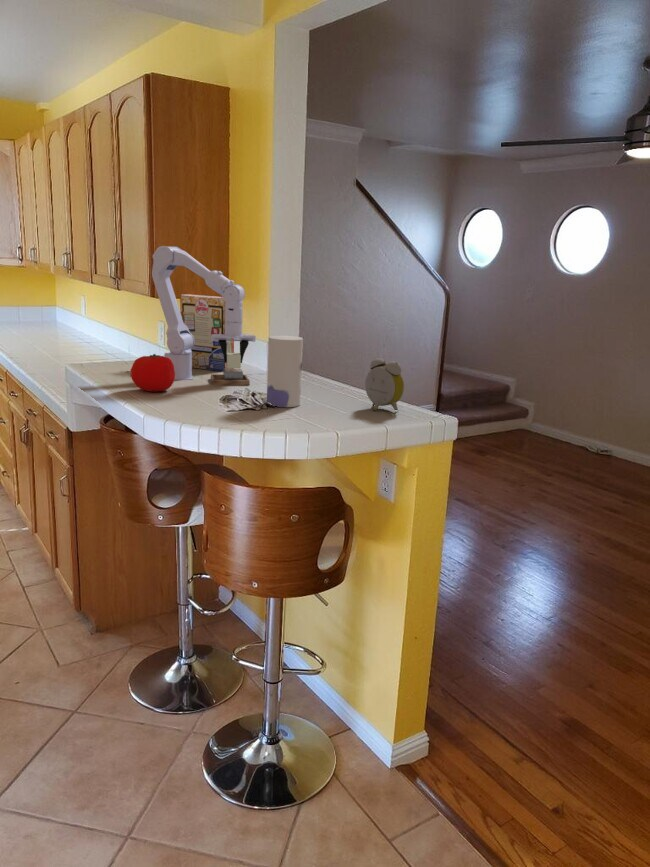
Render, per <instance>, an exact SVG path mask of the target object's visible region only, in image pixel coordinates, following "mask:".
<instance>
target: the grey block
mask: <svg viewBox="0 0 650 867" xmlns="http://www.w3.org/2000/svg"><path fill="white" fill-rule="evenodd" d="M222 374H223V380H243V375H244V371H243V370H242V369H241V368H234V369H223V371H222Z"/></svg>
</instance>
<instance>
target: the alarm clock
mask: <svg viewBox="0 0 650 867" xmlns="http://www.w3.org/2000/svg"><path fill="white" fill-rule="evenodd" d="M369 367H370V371H369V372H368V373H367V375H366V377H365V382H364V388H365V393H366V395H367V397H368V399H369V400H370V401H371V403H372V406H373V405H375V406H373V409H372V411H373V410H375V411H377V409H378V408H379V407H385V406H392V408H393V410H394V411H395V410H398V405H397V403H398V402H399V401H400V400H401V399H402V397H403V395H404V393H405V392H404V391H405V380H404V378H403V376H402V366H401V364H400V363H399V362H398V361H395V360H392V361H389V362H387V363H386V360H384V359H383V358H379V357H378V358H377V357H375V358H374V359H373V360H372V361H371V363H370V366H369ZM398 411H399V410H398Z"/></svg>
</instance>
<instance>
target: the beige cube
mask: <svg viewBox="0 0 650 867" xmlns="http://www.w3.org/2000/svg"><path fill="white" fill-rule="evenodd" d="M241 365H242V363H241V355H240V352H234V353H227V363H226V367H227V368H234V369H241Z"/></svg>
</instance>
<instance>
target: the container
mask: <svg viewBox="0 0 650 867" xmlns="http://www.w3.org/2000/svg"><path fill="white" fill-rule="evenodd" d="M267 343H268V344H267V345H268V346H267V348H268V349H267V350H268V351H267V380H266V381H267V382H266V385H267V386H266V388H267V389H266V402H267V401H268V402H270V403H271V404H272V405H274V406H273V407H275V406H277V408H295V407H299V406H300V405H301V398H302V397H301V392H302V391H301V390H302V371H303V370H302V369H303V348H304V347H303V344H304V339H303V337H300V336H294V335H281V334H280V335H279V334H278V335H270V336H268V342H267Z"/></svg>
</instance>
